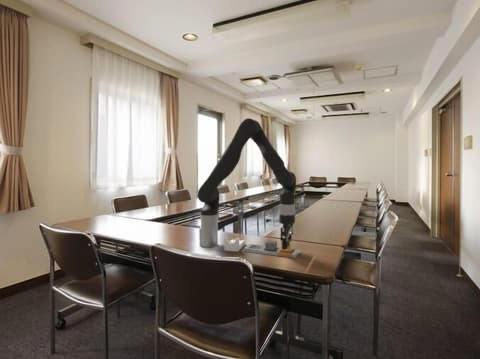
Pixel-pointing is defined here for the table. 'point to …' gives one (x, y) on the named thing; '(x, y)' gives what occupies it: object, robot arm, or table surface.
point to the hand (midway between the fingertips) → (287, 246)
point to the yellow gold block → (288, 246)
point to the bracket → (233, 244)
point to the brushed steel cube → (271, 245)
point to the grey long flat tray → (261, 249)
